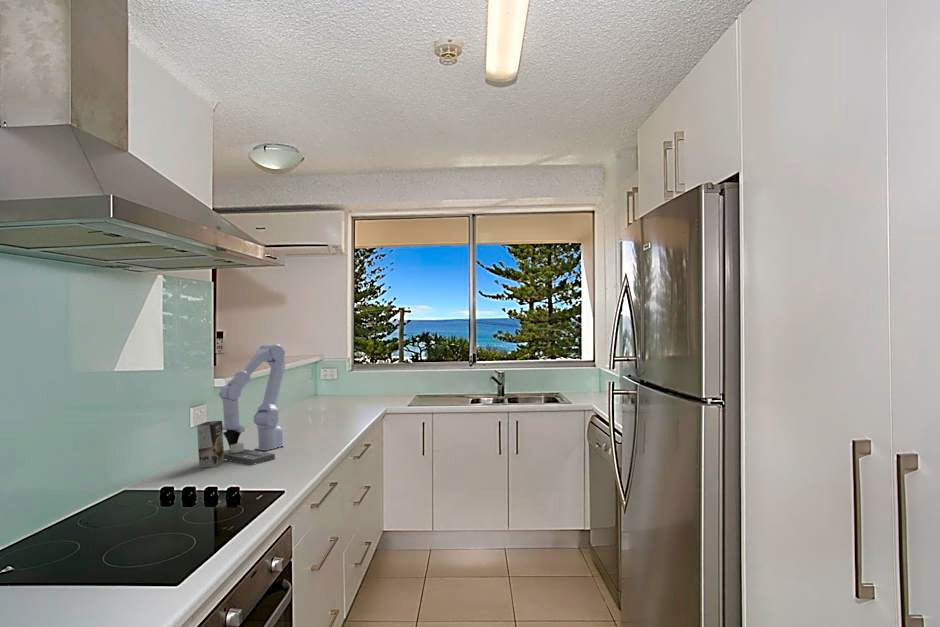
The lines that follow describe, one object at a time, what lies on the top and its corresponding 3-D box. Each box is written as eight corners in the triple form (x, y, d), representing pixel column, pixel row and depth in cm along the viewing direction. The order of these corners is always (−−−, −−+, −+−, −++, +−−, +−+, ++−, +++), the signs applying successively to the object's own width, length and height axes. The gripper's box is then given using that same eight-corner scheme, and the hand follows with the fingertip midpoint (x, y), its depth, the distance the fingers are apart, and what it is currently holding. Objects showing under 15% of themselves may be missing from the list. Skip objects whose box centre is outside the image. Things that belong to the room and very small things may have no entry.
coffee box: (215, 467, 245) (213, 424, 245) (198, 468, 245) (196, 425, 245) (225, 461, 254) (222, 420, 254) (208, 462, 254) (206, 421, 254)
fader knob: (239, 450, 263) (239, 442, 263) (244, 450, 261) (243, 443, 261) (230, 452, 259) (230, 444, 259) (234, 453, 258) (234, 445, 258)
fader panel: (236, 452, 269) (236, 447, 269) (274, 458, 254) (274, 453, 254) (214, 457, 261) (214, 452, 261) (252, 464, 246) (252, 459, 246)
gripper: (212, 415, 263) (214, 449, 263) (232, 417, 254) (234, 452, 254) (227, 412, 268) (229, 445, 269) (248, 414, 260) (250, 448, 260)
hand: (233, 448), depth 262 cm, fingers closed
